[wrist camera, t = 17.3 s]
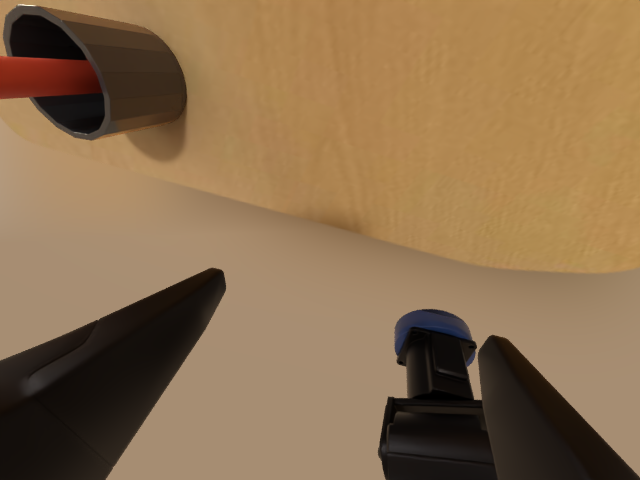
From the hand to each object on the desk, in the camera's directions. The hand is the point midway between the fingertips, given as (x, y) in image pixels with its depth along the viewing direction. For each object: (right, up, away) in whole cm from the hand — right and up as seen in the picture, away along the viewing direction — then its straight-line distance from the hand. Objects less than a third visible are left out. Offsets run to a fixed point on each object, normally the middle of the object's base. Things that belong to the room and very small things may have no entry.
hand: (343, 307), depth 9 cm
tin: (-13, +14, +10) cm, 21 cm away
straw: (-13, +14, +9) cm, 21 cm away
